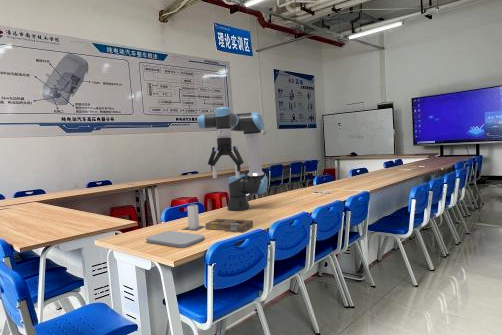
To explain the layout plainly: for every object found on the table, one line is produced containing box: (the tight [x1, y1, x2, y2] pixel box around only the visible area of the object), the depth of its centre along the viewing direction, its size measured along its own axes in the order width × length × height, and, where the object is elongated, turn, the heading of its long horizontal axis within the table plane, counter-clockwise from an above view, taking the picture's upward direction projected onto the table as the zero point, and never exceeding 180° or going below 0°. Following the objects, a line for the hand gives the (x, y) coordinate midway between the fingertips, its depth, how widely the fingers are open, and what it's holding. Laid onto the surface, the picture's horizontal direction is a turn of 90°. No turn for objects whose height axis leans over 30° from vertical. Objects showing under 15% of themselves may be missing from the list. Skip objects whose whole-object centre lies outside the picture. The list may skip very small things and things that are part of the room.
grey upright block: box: [187, 203, 200, 229], centre depth 189 cm, size 4×4×13 cm
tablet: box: [145, 230, 205, 249], centre depth 167 cm, size 16×26×2 cm, turn 57°
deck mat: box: [180, 225, 205, 232], centre depth 190 cm, size 10×10×1 cm
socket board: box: [204, 218, 254, 233], centre depth 186 cm, size 12×22×4 cm, turn 65°
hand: (226, 178), depth 184 cm, fingers open, 13 cm apart
